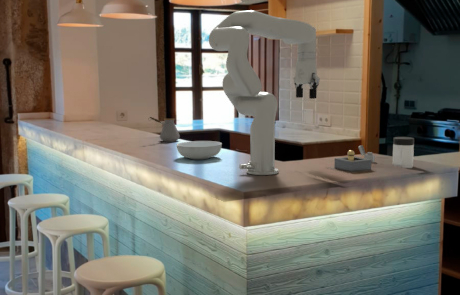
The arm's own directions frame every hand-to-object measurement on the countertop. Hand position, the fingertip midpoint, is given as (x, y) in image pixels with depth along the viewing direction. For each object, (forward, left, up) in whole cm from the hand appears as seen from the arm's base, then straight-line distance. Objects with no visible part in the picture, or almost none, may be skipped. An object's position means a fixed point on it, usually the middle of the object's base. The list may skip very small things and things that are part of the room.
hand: (306, 97), depth 232 cm
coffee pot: (-25, +101, -28) cm, 108 cm away
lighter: (+22, -14, -28) cm, 38 cm away
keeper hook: (+5, -24, -27) cm, 36 cm away
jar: (+31, -26, -28) cm, 49 cm away
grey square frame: (+5, -25, -27) cm, 37 cm away
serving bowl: (-32, +38, -29) cm, 58 cm away
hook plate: (+5, -24, -28) cm, 37 cm away
